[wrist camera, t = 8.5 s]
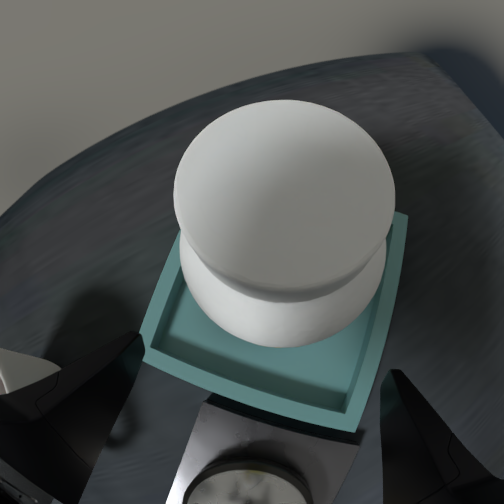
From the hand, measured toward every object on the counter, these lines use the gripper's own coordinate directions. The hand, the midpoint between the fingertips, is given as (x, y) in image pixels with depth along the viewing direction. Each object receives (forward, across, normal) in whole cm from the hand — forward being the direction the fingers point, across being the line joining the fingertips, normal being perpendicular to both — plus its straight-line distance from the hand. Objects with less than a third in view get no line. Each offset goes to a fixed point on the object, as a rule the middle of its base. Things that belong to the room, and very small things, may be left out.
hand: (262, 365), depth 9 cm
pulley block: (-1, 0, +13) cm, 13 cm away
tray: (+9, 0, +3) cm, 9 cm away
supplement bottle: (+8, 0, +2) cm, 9 cm away
